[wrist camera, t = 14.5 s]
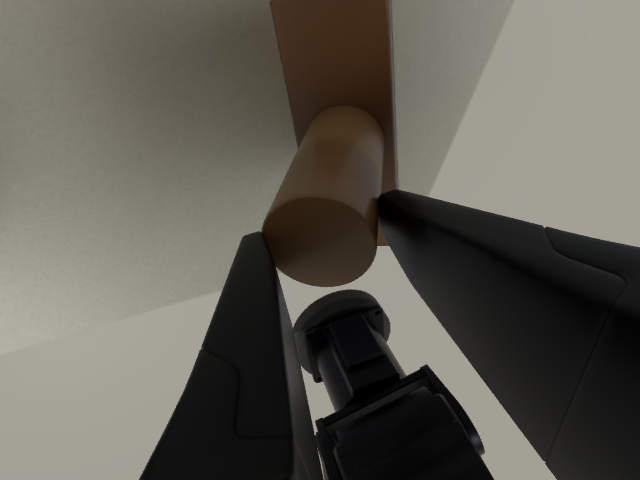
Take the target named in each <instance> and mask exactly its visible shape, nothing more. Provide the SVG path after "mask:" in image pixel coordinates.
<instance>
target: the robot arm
mask: <svg viewBox="0 0 640 480" xmlns="http://www.w3.org/2000/svg"><path fill="white" fill-rule="evenodd" d="M378 201H379V222H380V228H381V231H382V234H383V236H384V237H385V239H386V241H387V243H388V244H389V246H390V248H391V250H392V251H393V253H394V255H395V257H396V258H397V260H398V262H399V264H400V265H401V267H402V269H403V271H404V272H405V274H406V276H407V277H408V279H409V281H410V282H411V284H412V285H413V287H414V288H415V290H416V291H417V292H418V294H419V295H420V296H421V298H422V299H423V300H424V302H425V303H426V304H427V306H428V307H429V308H430V310H431V311H432V312H433V314H434V315H435V316H436V318H437V319H438V320H439V322H440V323H441V324H442V326H443V327H444V328H445V330H446V331H447V333H448V334H449V335H450V336H451V338H452V339H453V341H454V342H455V343H456V344H457V346H458V347H459V349H460V350H461V351H462V353H463V354H464V355H465V356H466V358H467V359H468V361H469V362H470V363H471V364H472V366H473V367H474V369H475V370H476V371H477V373H478V374H479V375H480V377H481V378H482V379H483V381H484V382H485V383H486V385H487V386H488V387H489V389H490V390H491V391H492V393H493V394H494V395H495V397H496V398H497V399H498V401H499V402H500V403H501V405H502V406H503V407H504V409H505V410H506V411H507V413H508V414H509V415H510V417H511V418H512V420H513V421H514V422H515V424H516V425H517V426H518V427H519V429H520V430H521V431H522V433H523V434H524V436H525V437H526V438H527V439H528V441H529V442H530V444H531V445H532V446H533V448H534V449H535V450H536V451H537V453H538V454H539V456H540V457H541V458H542V460H543V461H546V463H545V464H546V465H547V467H548V468H549V469H550V471H551V472H552V473H553V475H554V476H555V478H556V479H557V480H640V247H635V246H630V245H625V244H620V243H615V242H610V241H605V240H600V239H595V238H591V237H587V236H583V235H578V234H574V233H570V232H566V231H561V230H558V229H554V228H550V227H545V228H544V227H543V226H542V225H537V224H534V223H529V222H526V221H522V220H518V219H514V218H509V217H506V216H502V215H498V214H494V213H490V212H485V211H482V210H478V209H474V208H470V207H466V206H461V205H458V204H454V203H450V202H446V201H442V200H438V199H434V198H430V197H426V196H422V195H418V194H414V193H410V192H406V191H402V190H398V189H394V190H390V191H387V192H384V193H381V194H380V195H379V198H378ZM303 335H304V339H305V344H306V348H307V353H308V358H309V362H310V367H311V371H312V376H313V379H314V381H315V382H316V383H320V382H324V384H325V387H326V389H327V392H328V394H329V397H330V399H331V402H332V404H333V407H334V409H335V411H336V412H335V413H333V414H331V415H329V416H327V417H325V418H320V419H318V420H316V421H315V423H316V426H317V430H318V432H316V435H314V430H313V425H312V420H311V415H310V410H309V405H308V400H307V395H306V390H305V385H304V381H303V376H302V371H301V365H300V360H299V355H298V351H297V346H296V341H295V336H294V331H293V327H292V323H291V320H290V316H289V313H288V309H287V306H286V302H285V299H284V295H283V291H282V288H281V285H280V281H279V277H278V274H277V270H276V267H275V263H274V260H273V257H272V254H271V252H270V250H269V247H268V245H267V243H266V240H265V238H264V236H263V234H262V232H260V231H258V232H255V233H251V234H248V235H245V236H243V237H242V240H241V242H240V245H239V248H238V250H237V253H236V256H235V258H234V261H233V264H232V266H231V269H230V272H229V274H228V277H227V280H226V282H225V285H224V288H223V290H222V293H221V296H220V298H219V302H218V304H217V307H216V310H215V312H214V315H213V317H212V320H211V323H210V325H209V328H208V330H207V333H206V336H205V339H204V341H203V344H202V349H201V350H200V351H199V354H198V357H197V359H196V362H195V365H194V367H193V370H192V372H191V375H190V377H189V379H188V382H187V384H186V387H185V389H184V392H183V394H182V396H181V398H180V400H179V402H178V404H177V406H176V408H175V410H174V412H173V414H172V417H171V418H170V420H169V422H168V424H167V426H166V428H165V430H164V432H163V434H162V436H161V438H160V440H159V442H158V444H157V446H156V448H155V450H154V452H153V453H152V455H151V457H150V459H149V461H148V463H147V465H146V467H145V469H144V471H143V473H142V475H141V477H140V479H139V480H494V479H493V477H492V475H491V474H490V472H489V470H488V468H487V467H486V465H485V463H484V461H483V460H482V458H481V455H483V454H484V453H485V450H484V446H483V444H482V441H481V439H480V437H479V435H478V433H477V431H476V429H475V427H474V425H473V423H472V422H471V420H470V418H469V417H468V415H467V414H466V412H465V411H464V409H463V408H462V406H461V405H460V404H459V402H458V401H457V400H456V399H455V397H454V396H453V395H452V394H451V393H450V392H449V390H448V389H447V388H446V387H445V386H444V384H443V383H442V382H441V381H440V380H439V378H438V377H437V376H436V375H435V374H434V372H433V371H432V370H431V369H430V368H429V366H428V365H424V366H422V367H420V369H419V370H417V371H415V372H413V373H411V374H409V375H408V376H406V374H405V373H404V371H403V369H402V368H401V366H400V365H399V363H398V361H397V360H396V358H395V356H394V355H393V353H392V352H391V350H390V348H389V346H388V345H387V343H386V342H385V340H384V312H383V309H382V307H381V306H380V305H374V306H372V307H369V308H366V309H363V310H360V311H357V312H354V313H351V314H348V315H345V316H342V317H339V318H336V319H334V320H331V321H328V322H325V323H322V324H319V325H316V326H313V327H310V328H308V329H306V330H305V331H304V334H303ZM317 448H318V449H317ZM318 451H319V454H320V457H321V461H322V466H323V473H324V479H323V474H322V469H321V464H320V460H319V455H318Z"/></svg>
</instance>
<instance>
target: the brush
mask: <svg viewBox="0 0 640 480" xmlns="http://www.w3.org/2000/svg"><path fill="white" fill-rule="evenodd" d="M270 7H271V13H272V18H273V23H274V28H275V33H276V38H277V43H278V48H279V54H280V59H281V64H282V69H283V74H284V79H285V84H286V89H287V95H288V100H289V105H290V110H291V115H292V120H293V125H294V130H295V135H296V141H297V146H298V151H297V153H296V155H295V157H294V159H293V161H292V163H291V165H290V167H289V170H288V172H287V174H286V176H285V178H284V180H283V182H282V184H281V186H280V189H279V191H278V193H277V195H276V197H275V199H274V201H273V203H272V205H271V207H270V210H269V212H268V214H267V216H266V218H265V220H264V223H263V226H262V234H263V236H264V238H265V240H266V243H267V245H268V247H269V250H270V252H271V254H272V257H273V260H274V263H275V266H276V267H277V268H278V269H279V270H280V271H281V272H283V273H284V274H285V275H287V276H289V277H290V278H292V279H294V280H296V281H298V282H301V283H304V284H307V285H312V286H319V287H334V286H340V285H344V284H347V283H350V282H352V281H354V280H355V279H358V278H359V277H360V276H362V275H363V274H364V273H365V272H366V271H367V270H368V268H369V267H370V266H371V264H372V263H373V261H374V258H375V255H376V249H377V246H389V244H388V243H387V241H386V239H385V237H384V236H383V234H382V231H381V228H380V222H379V201H378V198H379V195H380V194H381V193H384V192H387V191H390V190H394V189H398V190H399V186H398V159H397V131H396V103H395V76H394V48H393V20H392V0H271V1H270Z"/></svg>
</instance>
